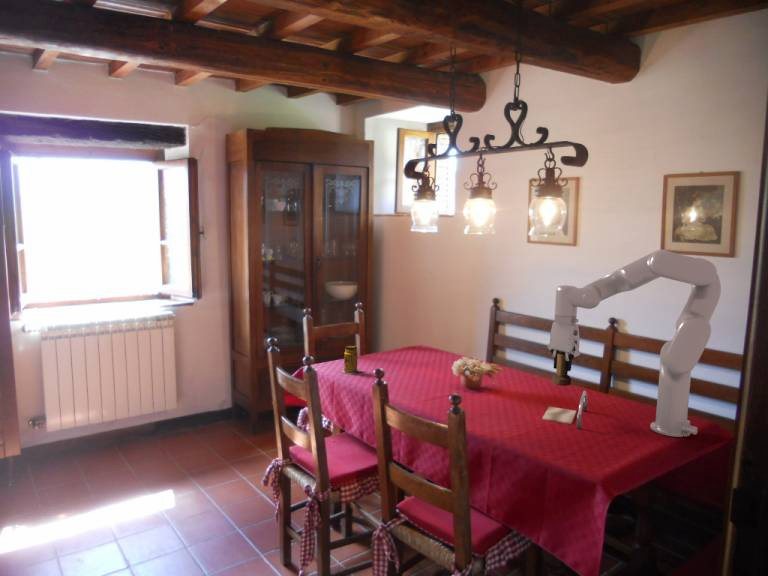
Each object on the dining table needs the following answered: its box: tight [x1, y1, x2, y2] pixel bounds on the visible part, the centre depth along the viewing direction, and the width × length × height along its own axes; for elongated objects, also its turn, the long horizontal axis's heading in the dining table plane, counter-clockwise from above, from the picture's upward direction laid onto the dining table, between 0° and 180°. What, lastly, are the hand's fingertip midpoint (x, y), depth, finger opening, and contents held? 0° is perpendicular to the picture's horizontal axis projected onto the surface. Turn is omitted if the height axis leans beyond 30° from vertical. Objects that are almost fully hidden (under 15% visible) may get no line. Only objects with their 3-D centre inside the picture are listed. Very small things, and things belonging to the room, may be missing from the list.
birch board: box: [542, 406, 577, 425], centre depth 212 cm, size 10×14×1 cm
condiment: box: [340, 345, 364, 376], centre depth 266 cm, size 7×8×12 cm
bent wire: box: [576, 390, 588, 430], centre depth 208 cm, size 1×21×10 cm, turn 155°
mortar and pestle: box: [551, 351, 572, 387], centre depth 209 cm, size 7×6×18 cm
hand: (562, 369), depth 210 cm, fingers closed on mortar and pestle, 3 cm apart
